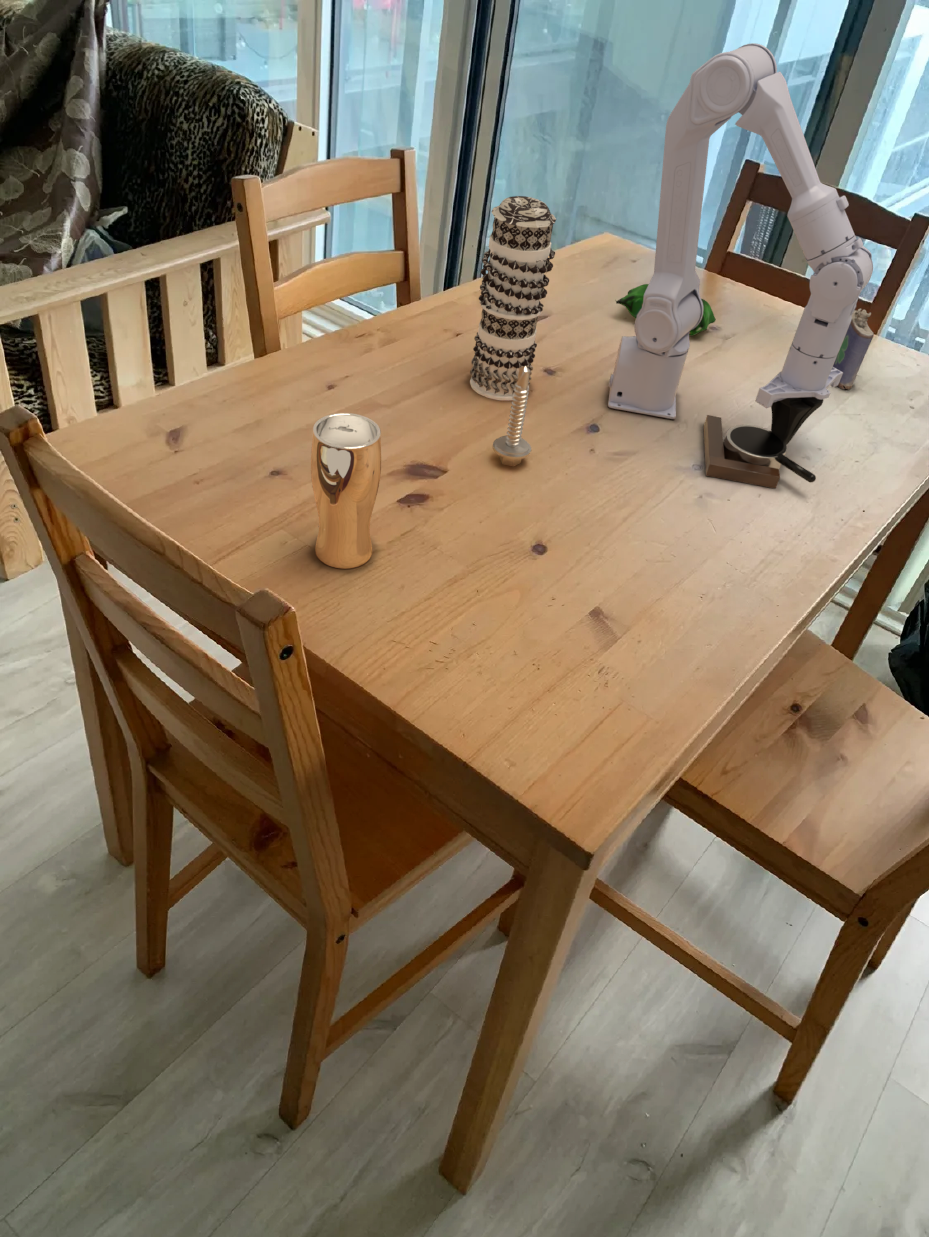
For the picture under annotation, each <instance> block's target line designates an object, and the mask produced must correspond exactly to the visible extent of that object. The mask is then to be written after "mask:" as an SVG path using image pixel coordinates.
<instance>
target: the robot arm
mask: <svg viewBox="0 0 929 1237" xmlns="http://www.w3.org/2000/svg"><path fill="white" fill-rule="evenodd" d="M773 54H774V53H772V51H771V50H769V48H767V47H766V46H765V45H763V44H760V43H753V42H751V43H747V44H743V45H740V46H739V47H738V48H736V49H733V50H730V51H725V52H719V53H718V54H715V55H714V56H712V57H711V58H710V59H708V60H706V62H704V63H703V64H702V65H701V66H699V67H698V68H697V69H696V70H694V71H693V72H692V73H691V75H690V78H689V83H688V85H686V86H687V87H686V88H685V90H684V91H683V93H682V94H681V96H680V97H679V99H678V100H677V103H676V104H675V106H674V107H673V109H672V111H671V112H670V114H669V116H668V118H667V120H666V124H665V133H664V144H663V145H664V146H663V158H662V170H661V180H660V181H661V182H660V193H659V194H660V195H659V204H658V205H659V207H658V216H657V218H658V219H657V231H656V242H655V243H656V244H655V252H654V253H655V256H654V266H653V267H654V268H653V274H652V276H651V279H650V280H649V282H648V284H649V285H648V287H647V289H646V291H645V293H644V299H643V306H642V309H641V311H640V312H639V314H638V316H637V318H636V319H635V321H634V326H633V327H634V334H635V335H634V336H633V335H632V336H627V335H623V336H621V339H620V341H619V346H618V349H617V350H618V351H617V355H616V358H615V363H614V367H613V371H612V373H611V374H610V376H609V381H608V387H609V392H608V401H607V406H608V408H610V409H613V410H614V409H615V410H620V411H625V412H626V411H627V412H630V413H631V412H632V413H635V414H636V413H637V414H641V415H648V416H653V417H659V418H664V419H671V420H674V419H676V417H677V391H678V389H679V384H680V381H681V379H682V378H681V377H682V374H683V371H684V367H685V363H686V360H687V358H688V354H689V350H690V346H691V344H690V343H691V342H690V336H689V331H691V330H692V329H694V328H695V327H696V326H697V325H698V324H699V323H700V321H701V319H702V316H703V311H704V310H703V303H702V300H701V299H702V297H701V294H700V285H701V284H700V283H701V279H700V278H699V275H698V273H697V271H696V265H697V257H698V247H699V239H700V229H701V219H702V210H703V203H704V202H703V201H704V192H705V184H706V174H707V167H708V166H707V164H708V154H709V147H710V139H711V136H712V135H713V134H714V133H716V132H717V131H718V130H719V129H720V128H722V127H723V126H724V125H725V124H726V123H727V122H728V121H729V120H731V119H732V117H733V116H735V115H736V114H738V113H739V114H740V115H741V116H740V117H739V118H738V119H737V120H736V122H735V123H734V125H735V126H736V127H738V128H741V129H744V130H745V131H746V130H747V131H748V132H751V133H754V134H756V135H759V136H760V137H761V139H762V140H763V142H764V145H765V147H766V148H767V151H768V152H769V155H770V156H771V158H772V161H773V162H774V165H775V166H776V168H777V171H778V172H779V175H780V177H781V178H782V181H783V182H784V185H785V187H786V189H787V191H788V193H789V195H790V197H791V203H790V206H789V209H788V212H787V215H786V216H787V219H788V221H789V223H790V226H791V228H792V230H793V233H794V235H795V238H796V240H797V242H798V245H799V247H800V249H801V252H802V254H803V256H804V259H805V261H806V263H807V266H808V267H809V268H810V269H811V270H812V271H813V274H811V275H810V277H809V291H810V296H809V298H808V300H807V304H806V305H805V306H804V307H803V308H804V309H803V311H802V314H801V316H800V318H799V319H800V320H799V322H798V324H797V327H796V330H795V334H794V335H793V339H792V342H791V343H790V347H789V349H788V352H787V355H786V358H785V360H784V363H783V365H782V368H781V370H780V371H779V372H778V373H777V374H776V375H775V376H774V377H773V378H772V379H771V380H770V381H769V382H768V383H767V384H765V385H763V386H761V387H759V389H758V391H757V395H756V396H755V397H756V398H755V400H754V401H755V403H757V404H759V405H760V406H762V407H764V408H765V409H769V408H770V409H771V424H770V425H771V426H770V431H772V432H774V433H775V434H777V435H779V436H780V437H781V438H782V439H783V440H784V441H785V443H786V445H787V446H788V445H789V443H790V442H791V441H792V439H793V438H794V437H795V435H796V434H797V432H798V431H799V429H800V428H801V427H802V425H804V423H805V422H806V421H807V419H808V418H809V417H810V416H811V415H812V414H813V413H814V412H815V411H817V410H818V409H819V408H820V407H822V405H823V403H824V400H825V399H828V398H830V396H831V391H830V390H829V388H830V387H833V388H834V387H838V384H839V382H840V379H841V377H842V374H843V372H841V371H840V370H838V369H836V368H834V367H833V365H834V362H835V360H836V357H837V355H838V352H839V350H840V347H841V345H842V342H843V340H844V337H845V335H846V333H847V330H848V328H849V325H850V323H851V319H852V314H853V312H854V311H855V310H856V308H857V303H858V300H859V298H860V295H861V293H862V291H863V290H864V289H865V287H867V285H869V282H870V281H871V279H872V276H873V272H874V262H873V256H872V252H871V251H870V250H869V249H868V248H867V247H865V246H864V243H863V240H862V238H861V237H858V238H857V237H856V235H855V232H854V230H853V227H852V225H851V224H852V223H851V222H850V220H849V216H848V215H847V212H846V209H847V208H848V207H849V206H850V205H849V204H850V203H849V201H848V198H847V197H846V195H841V196H840V195H839V193H838V190H837V188H835V187H833V186H830V185H828V184H824V183H822V182H821V180H820V178H819V174H818V171H817V169H816V166H815V163H814V160H813V158H812V154H811V152H810V149H809V146H808V144H807V141H806V138H805V135H804V133H803V129H802V126H801V124H800V121H799V119H798V116H797V113H796V110H795V107H794V104H793V101H792V98H791V94H790V90H789V87H788V83H787V80H786V78H785V77H784V75H783V73H782V72H781V71H778V65H777V61H776V58H775V56H774V55H773Z"/></svg>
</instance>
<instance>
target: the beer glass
mask: <svg viewBox="0 0 929 1237" xmlns="http://www.w3.org/2000/svg"><path fill="white" fill-rule="evenodd" d="M381 436H382V431H381V428H380V426H379V424H378V423H377V422H375V421H374V420H373V419H371V418H369V417H367V416H364V415H362V414H359V413H351V412H336V413H330V414H327V415H324V416H322V417H320V418H319V419H318V420H316V421H315V423H314V424H313V427H312V441H311V452H310V475H311V476H310V478H311V485H312V491H313V496H314V500H315V505H316V510H317V516H318V524H319V525H318V533H317V537H316V541H315V546H314V551H315V555H316V558H318V560H319V561H320V562H322V563H323V564H324V565H327V566H329V567H331V568H335V569H342V570H344V569H346V570H347V569H348V570H349V569H354V568H355V569H356V568H359V567H361V566H363V565H364V564H366V563H368V561H369V560H370V559H371V557H372V555H373V545H372V538H371V533H370V531H371V530H370V529H371V526H370V525H371V519H372V515H373V511H374V507H375V503H376V501H377V500H376V499H377V496H378V492H379V487H380V482H381V472H382V443H381V440H382V439H381V438H382V437H381Z"/></svg>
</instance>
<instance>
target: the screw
mask: <svg viewBox="0 0 929 1237" xmlns="http://www.w3.org/2000/svg"><path fill="white" fill-rule="evenodd" d="M529 375H530V370H529V369H528V368H527V367H526V366H523V367H520V368H519V375H518V381H517V384H515V386H516V388H514V391H515V392H514V393H513V395H514V397H513V398H512V399H513V400H511V404H512V405H511V406H510V410H509V413H510V414H509V419H508V424H507V425H508V427H507V430H508V431H506V435H502V436H499V437H497V438H496V439H495V440H493V442H492V450H493V451H494V452H495V453H496V454H497V455H498V456H499V457H498V458H499V460H500V462H501V464H502V465H505V466H509V467H515V466H517V465H520V464H521V463H522V460H523V459H526V458H528V457H529V456H530V455H531V453H532V446H531V444H530V443H529V442H528V441H527V440H526V439H524V438H523V437H522V434H523V430H524V422H525V417H526V413H527V410H526V409H527V407H528V406H527V404H528V400H529V397H528V396H529V395H530V392H529V391H530V386H529V387H528V381H529ZM530 376H531V375H530ZM529 382H530V381H529Z"/></svg>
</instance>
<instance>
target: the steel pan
mask: <svg viewBox="0 0 929 1237" xmlns="http://www.w3.org/2000/svg"><path fill="white" fill-rule="evenodd" d="M723 445H724V457H725V459H728V460H733V461H739V462H744V463H750V464H755V465H760V466H766V467H771V468H777V469H779V470H780V469H781V467H782V466H783V467H785V468H786V469H787V470H790V471H791V472H792V473H794V474H795V475H797V476H799V477H800V478H802V479H803V480H805V481H807V482H808V483H814V482H815V481H816V480H817V477H816V475H815V474H814V473H813V472H811V471H809V470H808V469H806V468H805V467H803V466H802V465H800V464H799V463H797V462H796V461H794V460H793V459H791V458H789V457H788V456H786V453H787V451H788V444H787V445H786V443H785V441H784V440H783V439H782V438H781V437H780V436H779V435H777V434H775V433H774V432H772V431H771V429H770V430H769V429H767V428H764V427H761V426H758V425H751V424H739V425H735V426H732V427H730V428H729V429H728V430H727V431H726V434H725V436H724V438H723Z"/></svg>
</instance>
